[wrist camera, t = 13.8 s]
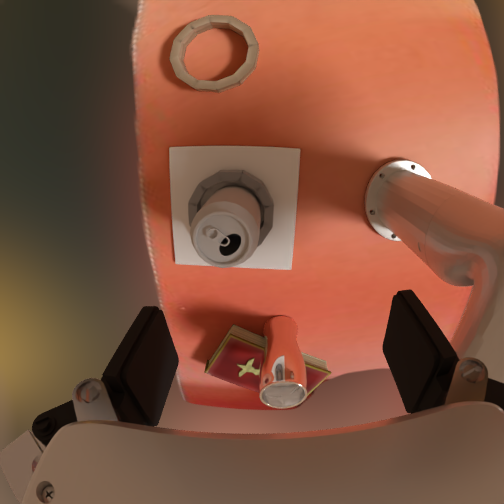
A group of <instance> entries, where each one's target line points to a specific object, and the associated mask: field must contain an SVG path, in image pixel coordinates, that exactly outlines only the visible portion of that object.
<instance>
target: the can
mask: <svg viewBox="0 0 504 504" xmlns="http://www.w3.org/2000/svg"><path fill="white" fill-rule="evenodd" d="M260 221H261V208H260V204H259V201H258V199H257V197H256V196H255V195H254V194H253V193H252V192H251V191H250V190H248V189H246V188H245V187H242V186H237V185H230V186H225V187H223V188H220V189H218V190H217V191H216V192H215V193H214V194H213V195H212V196H211V197H210V198H209V199H208V201H207V202H206V203H205V204H204V205H203V207H202V208H201V209H200V210H199V211H198V212H197V214H196V215H195V217H194V219H193V221H192V223H191V229H190V236H191V242H192V245H193V246H194V248H195V250H196V252H197V254H198V255H199V256H200V257H201V258H202V259H203V260H204V261H205V262H207V263H208V264H210V265H212V266H216V267H220V268H226V267H233V266H236V265H239V264H241V263H244V262H245V261H246V260H247V259H249V258H250V257H251V256H252V255H253V253H254V251H255V250H256V248H257V245H258V241H259V234H260Z"/></svg>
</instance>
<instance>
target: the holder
mask: <svg viewBox="0 0 504 504" xmlns="http://www.w3.org/2000/svg"><path fill="white" fill-rule="evenodd" d="M169 164H170V192H171V211H172V226H173V239H174V251H175V262H176V264H185V265H203V266H212V265H210V264H208V263H207V262H205V261H204V260H203V259H202V258H201V257H200V256H199V255H198V254H197V252H196V250H195V248H194V246H193V245H192V242H191V236H190V229H191V223H192V221H193V219H194V217H195V215H196V214H197V212H198V211H199V210H200V209H201V208H202V207H203V205H204V204H205V203H206V202H207V201H208V199H209V198H210V197H211V196H212V195H213V194H214V193H215V192H216V191H217V190H218V189H220V188H223V187H225V186H230V185H237V186H242V187H245V188H246V189H248V190H250V191H251V192H252V193H253V194H254V195H255V196H256V197H257V199H258V201H259V204H260V208H261V221H260V234H259V241H258V245H257V248H256V250H255V251H254V253H253V255H252V256H251V257H250V258H249V259H247V260H246V261H245V262H244V263H241V264H239V265H236V266H233V267H241V268H263V269H286V270H291V267H292V256H293V246H294V234H295V222H296V210H297V196H298V182H299V166H300V149H299V148H284V147H264V146H183V147H169Z"/></svg>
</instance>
